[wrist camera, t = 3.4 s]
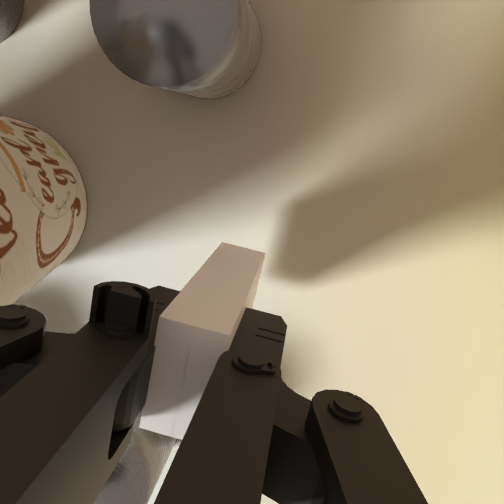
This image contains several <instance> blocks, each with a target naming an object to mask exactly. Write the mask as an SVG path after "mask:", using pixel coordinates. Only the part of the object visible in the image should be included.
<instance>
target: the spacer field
mask: <svg viewBox="0 0 504 504" xmlns="http://www.w3.org/2000/svg"><path fill="white" fill-rule="evenodd" d="M23 7H24V0H0V42H1V41H3V40H4V39H6V38H7V37H8V36H9V35H10V34H11V33H12V32H13V31H14V30H15V28H16V27H17V25H18V23H19V21H20V18H21V16H22V12H23ZM90 15H91V20H92V25H93V29H94V32H95V35H96V37H97V40H98V42H99V44H100V46H101V48H102V49H103V51H104V53H105V54H106V56H107V57H108V58H109V60H110V61H111V62H112V63H113V64H114V65H115V66H116V67H117V68H118V69H119V70H120V71H122V72H123V73H124V74H126V75H127V76H129V77H130V78H132V79H134V80H136V81H138V82H140V83H143V84H147V85H150V86H154V87H158V88H163V89H167V90H171V91H175V92H179V93H183V94H187V95H191V96H195V97H200V98H219V97H223V96H226V95H228V94H230V93H232V92H234V91H236V90H237V89H239V88H240V87H241V86H242V85H243V84H244V83H245V82H246V81H247V80H248V79H249V77H250V76H251V75H252V73H253V71H254V69H255V67H256V65H257V63H258V59H259V56H260V51H261V31H260V27H259V23H258V20H257V17H256V15H255V13H254V11H253V9H252V7H251V6H250V4H249V2H248V0H90ZM142 409H143V408H142ZM141 414H142V410H141V412H140V413H139V415H138V416H137V418H136V419H135V422H134V428H133V433H132V437H131V441H130V443H129V445H128V447H127V448H126V450H125V452H124V453H123V455H122V457H121V458H120V460H119V462H118V463H117V465H116V467H115V468H114V470H113V472H112V473H111V475H110V477H109V478H108V480H107V482H106V484H105V485H104V487H103V489H102V490H101V492H100V494H99V495H98V497H97V499H96V500H95V502H94V504H147V503H148V501H149V498H150V496H151V494H152V492H153V490H154V487H155V485H156V483H157V481H158V479H159V477H160V474H161V472H162V470H163V468H164V466H165V464H166V461H167V459H168V457H169V455H170V453H171V450H172V448H173V446H174V444H175V442H176V440H177V438H173V437H170V436H166V435H163V434H159V433H156V432H152V431H149V430H145V429H142V428H139V425H140V420H141Z"/></svg>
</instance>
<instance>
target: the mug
mask: <svg viewBox="0 0 504 504" xmlns="http://www.w3.org/2000/svg"><path fill="white" fill-rule="evenodd" d="M86 214H87V201H86V193H85V188H84V185H83V181H82V178H81V176H80V173H79V171H78V169H77V167H76V165H75V163H74V162H73V160H72V159H71V157H70V156H69V154H68V153H67V152H66V150H65V149H64V148H63V147H62V146H61V145H60V144H59V143H58V142H57V141H56V140H55V139H54V138H52V137H51V136H50V135H48V134H47V133H46V132H44V131H42V130H41V129H39V128H37V127H35V126H33V125H30V124H28V123H26V122H23V121H19V120H16V119H12V118H8V117H4V116H0V306H7V305H11V304H13V303H14V302H16V301H17V300H18V299H19V298H20V297H22V296H23V295H24V294H25V293H26V292H27V291H29V290H30V289H31V288H32V287H33V286H35V285H36V284H37V283H38V282H39V281H41V280H42V279H43V278H44V277H45V276H46V275H48V274H49V273H50V272H51V271H52V270H54V269H55V268H56V267H57V266H58V265H59V264H60V263H61V262H63V261H64V260H65V259H66V258H67V257H68V256H69V255H70V253H71V252H72V251H73V250H74V248H75V247H76V245H77V244H78V242H79V240H80V238H81V235H82V233H83V230H84V226H85V222H86Z"/></svg>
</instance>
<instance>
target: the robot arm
mask: <svg viewBox="0 0 504 504" xmlns="http://www.w3.org/2000/svg"><path fill="white" fill-rule="evenodd" d="M264 257H265V253H263V252H259V251H255V250H251V249H247V248H243V247H239V246H235V245H231V244H227V243H223V242H222V243H221V244H220V246H219V247H218V248H217V249H216V250H215V251H214V253H213V254H212V255H211V256H210V257H209V258H208V260H207V261H206V262H205V263H204V264H203V266H202V267H201V268H200V269H199V270H198V271H197V273H196V274H195V275H194V276H193V277H192V279H191V280H190V281H189V282H188V283H187V284H186V286H185V287H184V288H183V289H182V290H181V291H177V290H173V289H169V288H165V287H162V286H157V287H153V288H150V289H148V288H146V287H143V286H141V285H138V284H134V283H128V282H117V281H111V282H104V283H100V284H98V285H95V286H94V289H93V297H92V304H91V311H90V319H89V322H88V323H87V324H86V325H85V326H84V327H82V328H81V329H80V330H79V331H78V332H77V333H75V334H65V333H54V332H45V328H46V319H45V317H44V315H43V314H42V313H40V312H38V311H37V310H35V309H31V308H28V307H26V306H22V305H19V306H17V305H12V304H11V305H7V306H0V504H94V502H95V500H96V499H97V497H98V495H99V494H100V492H101V490H102V489H103V487H104V485H105V484H106V482H107V480H108V478H109V477H110V475H111V473H112V472H113V470H114V468H115V467H116V465H117V463H118V462H119V460H120V458H121V457H122V455H123V453H124V452H125V450H126V448H127V447H128V445H129V443H130V441H131V437H132V433H133V428H134V422H135V419H136V418H137V416H138V415H139V413H140V412H141V410H142V414H141V420H140V425H139V428H142V429H145V430H149V431H152V432H156V433H159V434H163V435H166V436H170V437H173V438H177V439H180V440H182V442H181V444H180V446H179V448H178V451H177V453H176V455H175V457H174V460H173V462H172V464H171V466H170V469H169V471H168V473H167V475H166V478H165V480H164V482H163V484H162V487H161V489H160V491H159V493H158V496H157V498H156V500H155V502H154V504H260V501H261V495H262V494H264V495H265V496H267V497H269V498H271V499H272V500H274V501H276V502H277V503H279V504H428V503H427V501H426V499H425V497H424V495H423V494H422V492H421V490H420V488H419V486H418V485H417V483H416V481H415V479H414V477H413V476H412V474H411V472H410V470H409V468H408V466H407V465H406V463H405V461H404V459H403V457H402V456H401V454H400V452H399V450H398V448H397V447H396V445H395V443H394V441H393V439H392V438H391V436H390V434H389V432H388V430H387V429H386V427H385V425H384V423H383V421H382V419H381V418H380V416H379V414H378V413H377V412H376V411H375V409H374V408H373V407H372V406H371V405H370V404H368V403H367V402H365V401H364V400H363V399H362V398H360V397H358V396H356V395H353V394H352V393H349V392H343V391H339V390H323V391H320V392H317V393H316V394H315V395H314V397H313V398H312V401H311V400H308V399H306V398H304V397H302V396H301V395H299V394H297V393H295V392H294V391H293V390H291V389H290V388H289V387H287V385H286V384H285V383H284V382H283V381H282V379H281V370H280V365H281V359H282V353H283V347H284V341H285V335H286V329H287V325H286V324H285V322H284V320H283V319H282V317H281V316H277V315H273V314H270V313H266V312H262V311H258V310H254V309H252V307H253V303H254V298H255V294H256V290H257V286H258V282H259V278H260V273H261V269H262V265H263V261H264ZM142 408H143V409H142Z"/></svg>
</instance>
